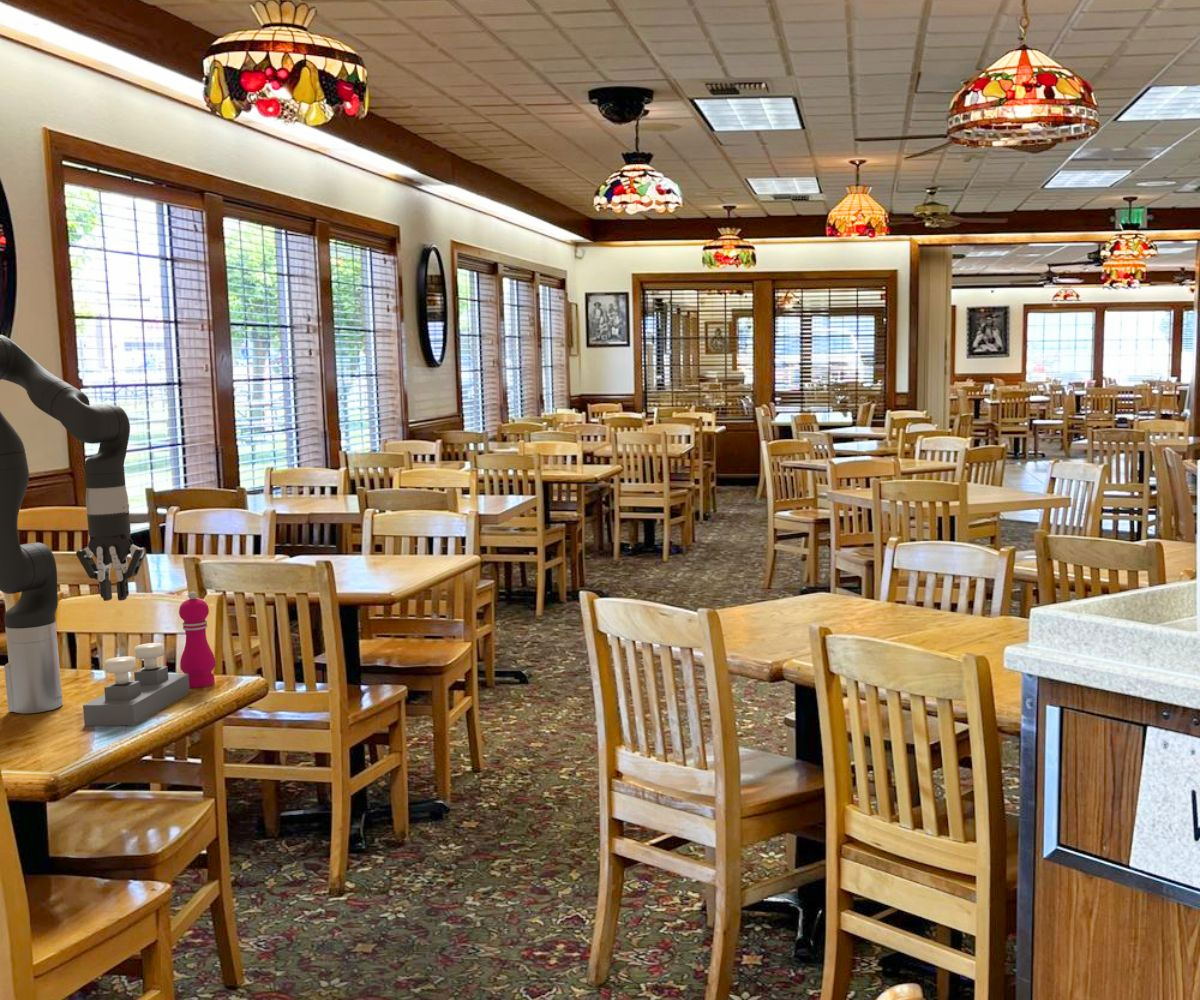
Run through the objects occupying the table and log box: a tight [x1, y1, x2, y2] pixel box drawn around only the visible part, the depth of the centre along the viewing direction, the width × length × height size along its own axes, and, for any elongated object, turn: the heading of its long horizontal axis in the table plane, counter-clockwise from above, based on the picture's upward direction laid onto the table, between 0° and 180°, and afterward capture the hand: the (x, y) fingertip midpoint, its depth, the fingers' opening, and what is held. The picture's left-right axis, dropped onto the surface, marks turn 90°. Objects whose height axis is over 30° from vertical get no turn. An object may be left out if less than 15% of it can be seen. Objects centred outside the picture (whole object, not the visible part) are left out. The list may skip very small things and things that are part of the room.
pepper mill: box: [178, 591, 217, 689], centre depth 271 cm, size 7×7×20 cm
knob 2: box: [134, 642, 165, 669], centre depth 259 cm, size 6×6×4 cm
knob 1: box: [104, 655, 137, 684], centre depth 247 cm, size 6×6×4 cm
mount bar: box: [82, 665, 191, 727], centre depth 253 cm, size 10×24×6 cm, turn 173°
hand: (115, 599), depth 245 cm, fingers closed
